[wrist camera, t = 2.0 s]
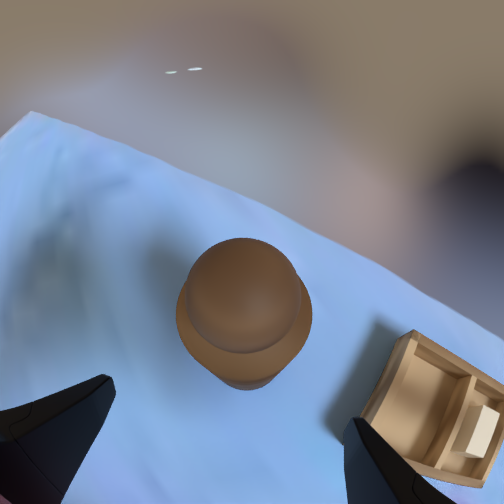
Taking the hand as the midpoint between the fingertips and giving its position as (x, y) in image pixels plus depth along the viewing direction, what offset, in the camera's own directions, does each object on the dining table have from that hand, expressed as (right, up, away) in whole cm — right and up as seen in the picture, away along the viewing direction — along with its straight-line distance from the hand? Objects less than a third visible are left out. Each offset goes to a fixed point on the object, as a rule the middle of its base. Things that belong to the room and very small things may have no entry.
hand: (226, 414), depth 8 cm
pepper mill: (+1, -2, +11) cm, 11 cm away
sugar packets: (+21, -11, +6) cm, 24 cm away
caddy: (+17, -9, +7) cm, 21 cm away
